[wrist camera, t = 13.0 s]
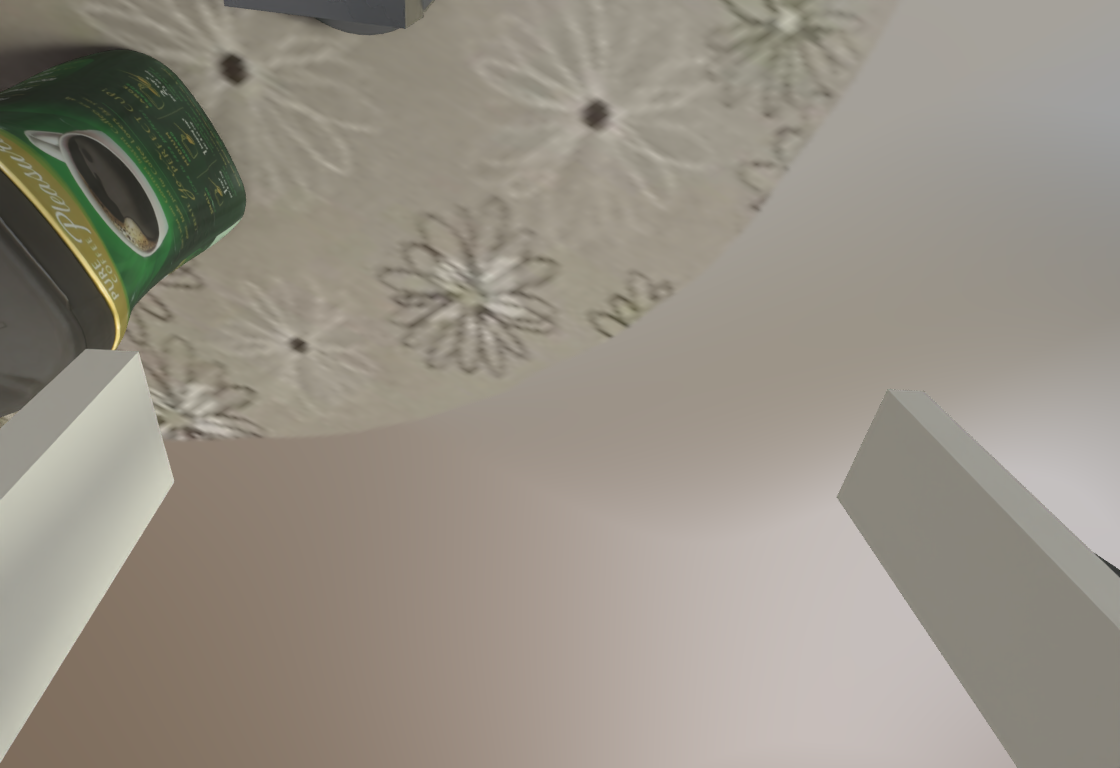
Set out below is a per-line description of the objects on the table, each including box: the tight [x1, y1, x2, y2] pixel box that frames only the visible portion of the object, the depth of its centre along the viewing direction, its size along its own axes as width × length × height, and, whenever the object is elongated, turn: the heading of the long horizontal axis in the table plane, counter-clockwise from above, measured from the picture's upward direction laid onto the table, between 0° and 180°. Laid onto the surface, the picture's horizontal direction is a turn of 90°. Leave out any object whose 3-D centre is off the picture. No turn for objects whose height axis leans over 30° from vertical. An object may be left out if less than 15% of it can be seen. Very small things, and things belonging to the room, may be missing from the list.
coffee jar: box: [0, 50, 246, 417], centre depth 25 cm, size 10×8×19 cm
